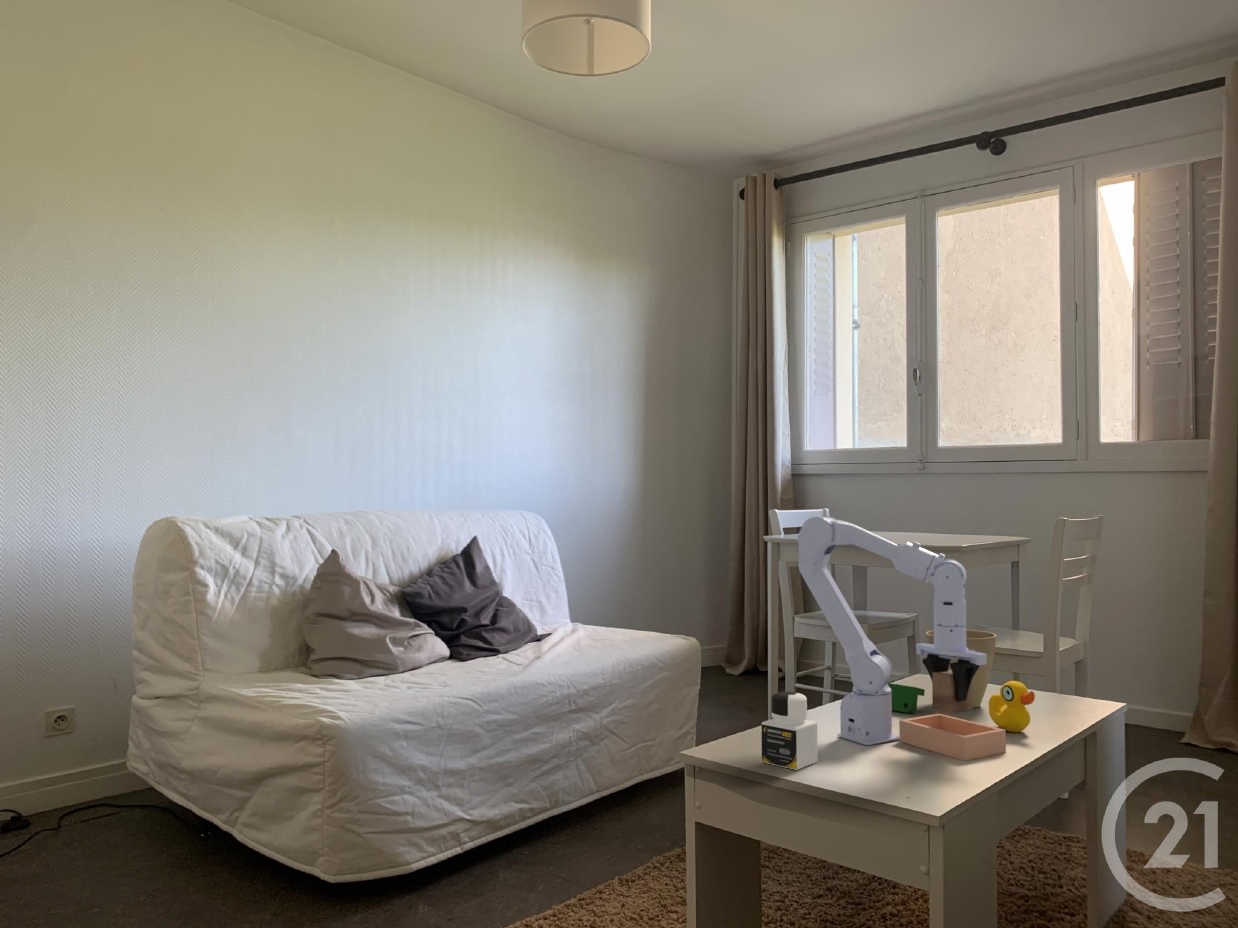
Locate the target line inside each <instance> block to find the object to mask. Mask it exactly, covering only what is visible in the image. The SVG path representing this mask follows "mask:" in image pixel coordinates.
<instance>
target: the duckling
mask: <svg viewBox="0 0 1238 928" xmlns="http://www.w3.org/2000/svg"><path fill="white" fill-rule="evenodd" d="M1035 697H1036V696H1035V691H1032V690H1030V691H1029V690H1028V688H1027V687H1026V685H1025V684H1024V683H1022V682H1021V681H1018V680H1009V681H1006V683H1003V685H1001V686H1000V689H999V693H995V694H992V695H991V696H990V697H989V700H988V715H989V717H990V718H991V720H992V721H993V723H994V724H995V725H997V726H998V727H999V728H1000V729H1004V730H1006V732H1007V731H1008V732H1010V733H1020V732H1022V731H1024V730H1025V729H1026V728H1027V727H1028V726H1029V725H1030V723H1031V715H1030V712H1029V711H1028V709H1027V707H1026V706H1027V705H1028V706H1029V705H1031V704H1033V703H1034V701H1035Z"/></svg>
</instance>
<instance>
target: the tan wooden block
mask: <svg viewBox="0 0 1238 928" xmlns="http://www.w3.org/2000/svg"><path fill="white" fill-rule="evenodd" d="M931 682H932V686H931V687H932V688H931V689H932V695H931V697H932V711H934V712H938V713H941V714H942V713H943V714H945V715H946V714H947V715H949V716H950V715H951V716H952V715H955V714H961V713H968V712H972V710H973V708H972V681H971V684H970V687H969V690H968V694H967V699H966V701H960V702H959V701H956V698H955V685H954V678H953V673H952V670H947V671H939V672H932V680H931Z"/></svg>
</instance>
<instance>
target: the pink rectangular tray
mask: <svg viewBox="0 0 1238 928" xmlns="http://www.w3.org/2000/svg"><path fill="white" fill-rule="evenodd" d="M898 724H899V728H898V729H899V731H898V732H899V736H900V739H899V742H901V743H904V744H908V745H910V746H914V747H917V748H920V749H924V750H927V751H931V752H934V753H938V754H941V755H945V756H948V757H952V758H955V759H958V760H962V761H969V760H975V759H980V758H985V757H989V756H994V755H999V754H1004V752H1005V753H1007V742H1006V741H1007V738H1006V737H1007V735H1006V732H1007V730H1004V729H1002V728H1000V727H999V728H998V727H995V726H990V725H988V724H987V725H986V724H983V723H979V722H975V721H970V720H967V719H962V718H959V717H955V716H952V715H951V716H950V715H948V714H947V715H946V714H944V713H943V714H942V713H934V714H929V715H923V716H922V715H921V716H917V717H910V718H905V719H900V720H899V723H898Z"/></svg>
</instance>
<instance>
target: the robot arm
mask: <svg viewBox="0 0 1238 928" xmlns="http://www.w3.org/2000/svg"><path fill="white" fill-rule="evenodd" d="M796 539H797V543H798V570H799V574H800V575H801V576H802V578H803V580H804V582H805V583H806V585H807V588H808V589H809V590H810V592H811V594H812V596H813V597H814V600H815V601H816V603H817V604H818V606H819V608H820V610H821V611H822V613H823V615H824V617H825V618H826V620H827V623H828V624H829V625H830V627H831V628H832V631H833V632H834V634H835V637H836V638H837V640H838V642H839V643H840V645H841V646H842V648H843V650H844V655H845V661H846V663H847V665H848V667H849V670H850V679H851V682H852V684H853V686H852V691H851V692H850V694H847V695H845V696H843V698H842V699H841V702H840V708H839V709H840V712H839V713H840V733H837V737H839V738H843V739H846V740H849V741H851V742H852V741H853V742H856V743H858V744H861V745H866V746H870V745H876V744H881V743H888V742H893V741H898V740H899V741H900V734H899V735H898V734H894V733H893V720H892V719H893V717H892V716H893V715H892V713H893V712H892V711H893V710H892V699H891V688H890V687H889V686H888V683H889V682H888V681H890V680H891V677H892V674H893V666H892V665H893V664H892V662H891V661H890V659H889V658H888V657H887V656H885V655H884V654H883V653H881V652H880V651H879V650H878V648H877V647H876V645H875V644H874V643H873V642H872V641H871V640H870V639H869V638H868V637H867V635H866V633H865V631H864V630H863V628H862V626H861V625H860V623H859V621H858V620H857V617H856V616H855V614H854V612H853V611H852V609H851V608H850V607H851V606H850V605H849V604H848V602H847V600H846V598H845V597H844V595H843V593H842V592H841V590H840V589H839V586H838V584H837V582H835V579H834V577H833V576H832V574H831V572H830V571H829V569H828V564H829V561H830V558H831V555H832V552H833V551H834V549H835V548H836V547H837V546H841V545H854V546H856V547H858V548H861V549H863V550H866V551H868V552H871V553H874V554H877V555H878V556H881V557H884V558H885V559H889V560H891V562H892V563H893V566H894V568H895V570H897V571H898V572H899V571H900V572H901V573H904V574H907V575H909V576H911V577H913V578H916V579H917V580H920V581H921V582H924V583H931V584H932V586H933V589H934V599H933V630H934V645H933V644H928V643H923V642H922V643H916V644H915V646H916V648H915V649H916V650H915V651H916V653H915V654H916V655H925V656H926V658H923V659H922V664H923V666H924V667H925V668H926V670H927V673H928V675H929V677H930V680H931V681H932V672H939V671H947V670H948V668H949V664H950V667H951V670H952V673H953V678H954V685H955V698H956V701H959V702H960V701H966V699H967V694H968V690H969V687H970V684H971V681H972V679H973V677H974V675H975V673H976V671H977V670H978V668H979V665H986V664H987V654H985V653H980V652H976V651H973V650H969V649H968V648H967V646H966V630H967V601H966V599H965V598H966V590H965V587H964V585H965V584H966V582H967V575H968V574H967V571H966V569H965V567H964V565H963V564H961V563H960V562H958V561H957V560H956V559H953V558H947V559H945V557H946V555H945V554H943V553H942V552H940V553H939V554H937V553H935V552H932V551H930V550H928V549H926V548H923V547H921V546H922V544H921V543H919V542H917V541H913V543H912V542H909V541H907V542H903V543H900V544H896V542H892V541H890V540H889V539H886V538H884V537H883V536H880V535H877V534H876V533H873V532H871V531H869V530H867V529H865V528H863V527H861V526H859V525H856V524H854V523H852V522H848V521H845V520H841V519H836V518H834V517H833V516H832V517H831V516H827V515H825V516H824V515H823V516H821V517H820V516H812V517H809V518H808V519H806V520H805V521H804V522H803V523H802V525H801V528H800V530H799V533H798V535H797V537H796ZM948 655H949V656H948ZM954 656H956V657H954ZM951 659H952V660H957V661H958V662H954V663H950V660H951Z"/></svg>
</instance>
